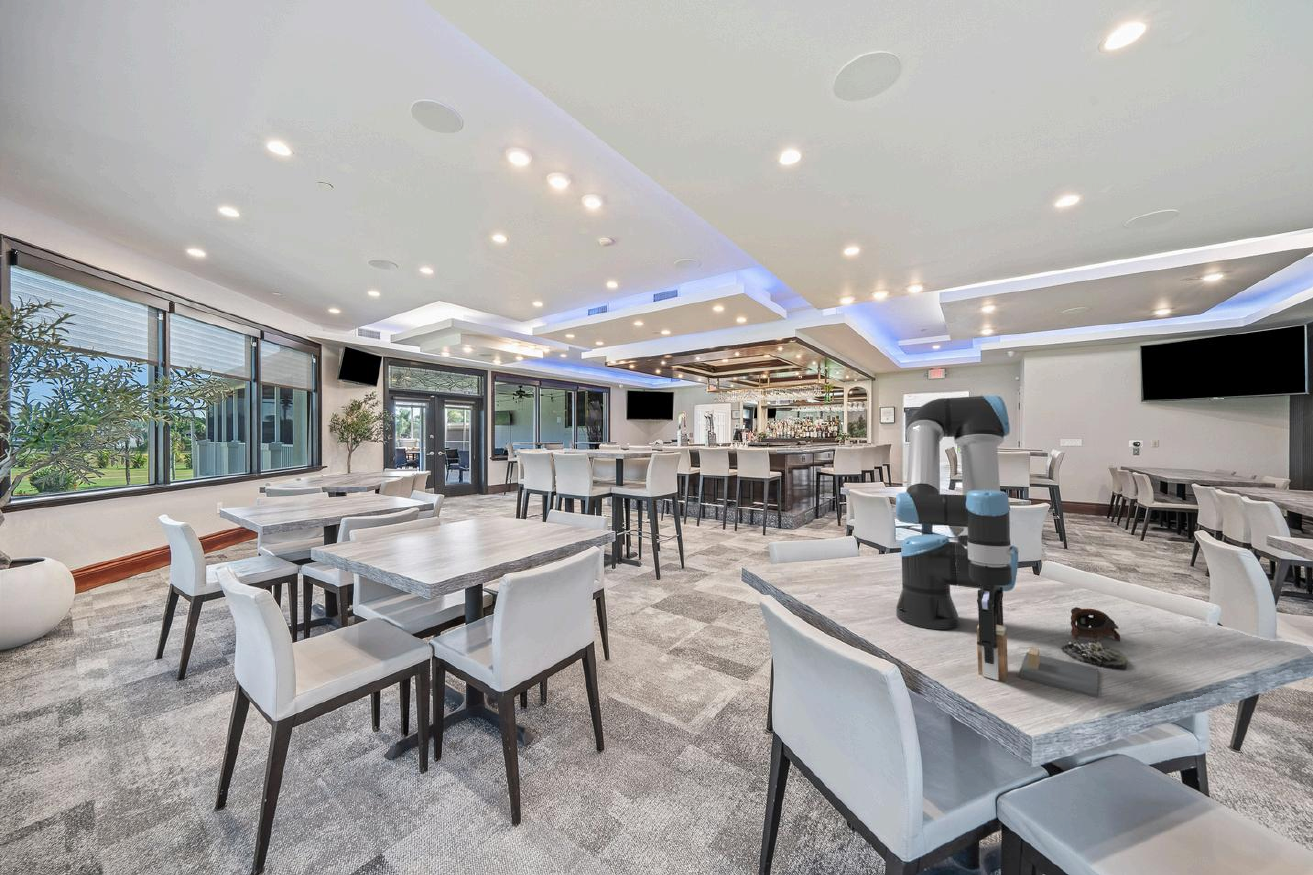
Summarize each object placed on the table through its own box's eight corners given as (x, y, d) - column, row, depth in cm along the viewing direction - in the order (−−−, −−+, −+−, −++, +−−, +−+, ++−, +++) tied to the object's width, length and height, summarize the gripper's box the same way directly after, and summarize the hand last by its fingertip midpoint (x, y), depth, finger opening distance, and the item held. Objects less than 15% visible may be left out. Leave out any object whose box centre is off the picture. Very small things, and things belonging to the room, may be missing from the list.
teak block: (978, 674, 99) (976, 627, 99) (982, 666, 102) (980, 621, 102) (1004, 681, 96) (1002, 632, 96) (1008, 673, 99) (1006, 626, 99)
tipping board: (1018, 676, 97) (1017, 659, 97) (1026, 654, 107) (1026, 638, 107) (1096, 697, 89) (1096, 678, 89) (1098, 671, 99) (1097, 654, 99)
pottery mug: (1136, 648, 111) (1126, 621, 109) (1096, 664, 112) (1085, 637, 110) (1092, 617, 122) (1082, 593, 121) (1056, 632, 124) (1046, 607, 122)
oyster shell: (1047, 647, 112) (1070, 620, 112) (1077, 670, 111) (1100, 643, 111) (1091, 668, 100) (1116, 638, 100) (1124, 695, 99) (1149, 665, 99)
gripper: (1004, 574, 90) (1008, 695, 90) (1017, 557, 103) (1021, 663, 103) (958, 568, 96) (962, 682, 95) (977, 553, 108) (980, 653, 108)
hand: (993, 672), depth 99 cm, fingers open, 5 cm apart
